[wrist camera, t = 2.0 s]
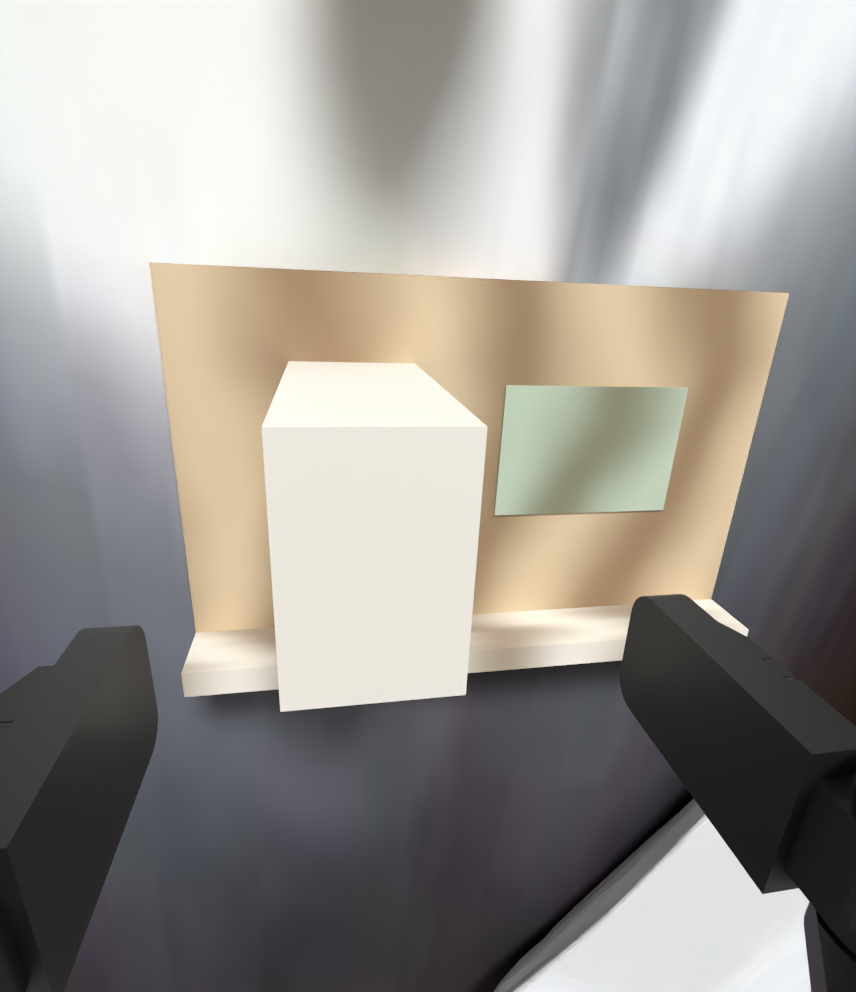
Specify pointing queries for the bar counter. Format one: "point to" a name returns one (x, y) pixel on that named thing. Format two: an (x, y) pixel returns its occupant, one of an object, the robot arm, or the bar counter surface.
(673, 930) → the salad plate
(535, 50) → the bar counter surface
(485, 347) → the shelf board
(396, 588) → the carton
